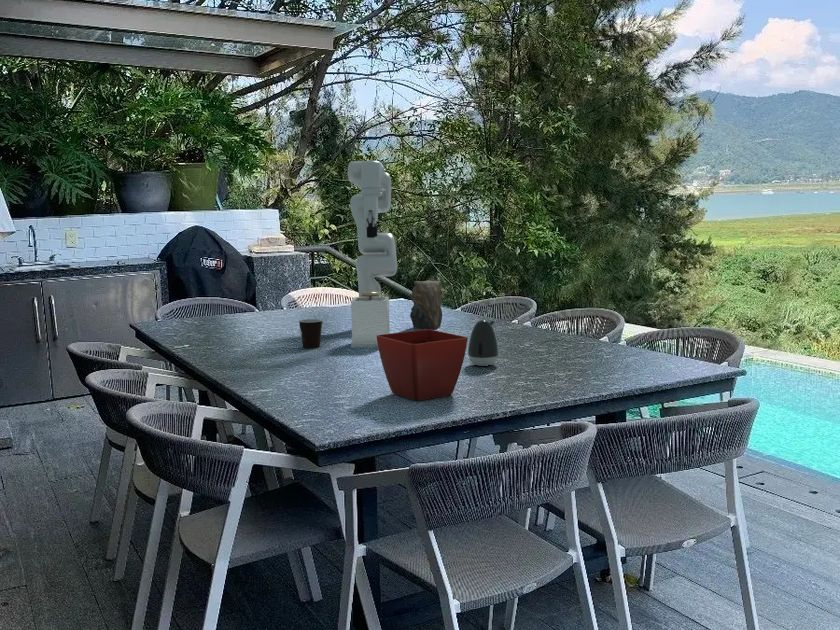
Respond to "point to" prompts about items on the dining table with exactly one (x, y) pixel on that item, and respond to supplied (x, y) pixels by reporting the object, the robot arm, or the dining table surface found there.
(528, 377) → the dining table surface
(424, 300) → the owl
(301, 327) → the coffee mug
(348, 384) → the dining table surface
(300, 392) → the dining table surface
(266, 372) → the dining table surface
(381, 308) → the white open square box
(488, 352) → the dark grey tapered dome
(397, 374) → the plant pot
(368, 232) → the robot arm
